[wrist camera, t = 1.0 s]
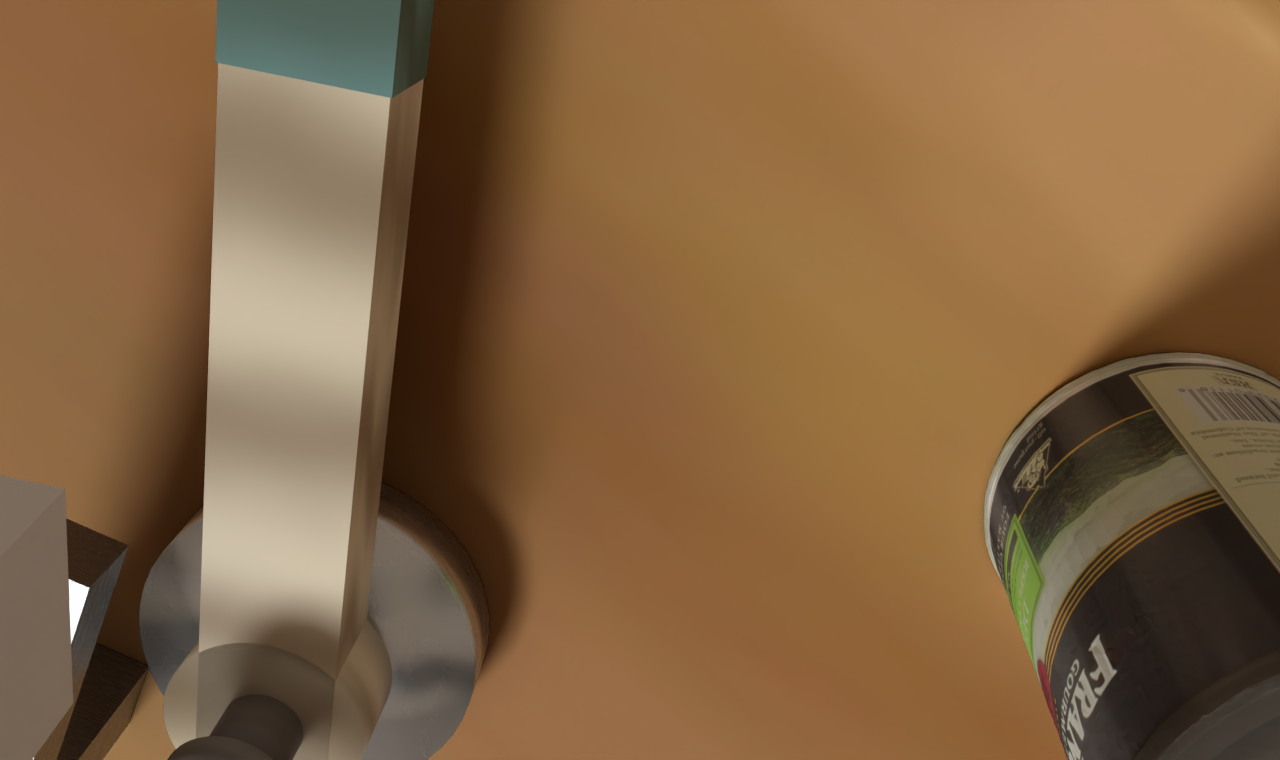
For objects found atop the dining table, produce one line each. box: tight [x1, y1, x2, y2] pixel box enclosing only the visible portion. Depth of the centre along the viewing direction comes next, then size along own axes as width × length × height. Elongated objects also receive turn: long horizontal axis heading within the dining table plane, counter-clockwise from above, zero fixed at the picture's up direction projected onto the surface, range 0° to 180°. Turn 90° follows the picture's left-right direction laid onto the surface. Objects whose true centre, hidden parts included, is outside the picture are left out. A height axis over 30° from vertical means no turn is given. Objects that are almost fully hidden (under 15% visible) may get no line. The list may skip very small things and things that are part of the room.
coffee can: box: [984, 352, 1280, 760], centre depth 29 cm, size 10×10×14 cm
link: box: [163, 0, 435, 760], centre depth 30 cm, size 25×6×6 cm, turn 170°
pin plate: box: [139, 483, 490, 760], centre depth 38 cm, size 11×11×2 cm
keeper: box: [33, 519, 149, 760], centre depth 35 cm, size 14×3×9 cm, turn 155°
